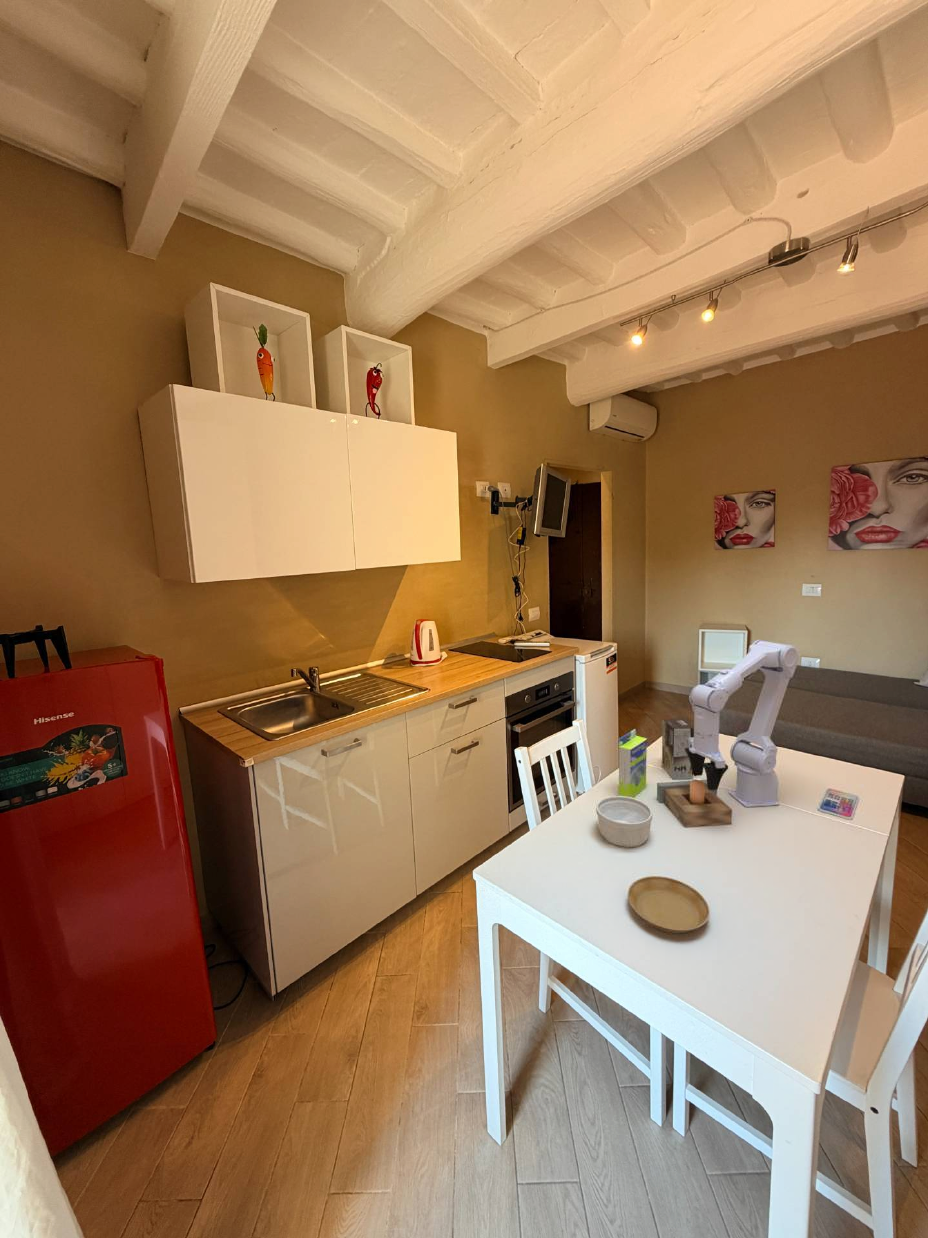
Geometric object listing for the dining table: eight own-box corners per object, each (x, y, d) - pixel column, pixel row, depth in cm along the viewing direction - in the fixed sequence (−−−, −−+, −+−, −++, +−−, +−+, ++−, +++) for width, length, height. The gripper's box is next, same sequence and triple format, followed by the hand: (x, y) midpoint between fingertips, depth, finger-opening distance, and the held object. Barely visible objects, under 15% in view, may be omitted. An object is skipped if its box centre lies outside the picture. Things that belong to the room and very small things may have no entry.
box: (630, 801, 137) (631, 742, 135) (617, 796, 140) (617, 739, 138) (647, 787, 144) (648, 731, 142) (634, 783, 147) (634, 728, 145)
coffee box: (694, 779, 148) (695, 728, 146) (672, 779, 148) (673, 728, 146) (681, 765, 157) (682, 717, 155) (661, 766, 157) (661, 718, 155)
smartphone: (860, 796, 134) (852, 819, 123) (859, 799, 134) (852, 822, 124) (827, 787, 139) (816, 808, 129) (826, 790, 139) (816, 812, 129)
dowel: (700, 808, 131) (701, 779, 130) (706, 815, 128) (707, 786, 127) (687, 808, 131) (687, 780, 130) (692, 815, 128) (693, 786, 127)
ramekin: (586, 837, 122) (586, 811, 121) (611, 814, 131) (611, 790, 130) (638, 858, 113) (638, 830, 112) (660, 832, 122) (661, 806, 121)
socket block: (706, 800, 136) (706, 786, 135) (731, 824, 124) (732, 809, 124) (663, 802, 136) (663, 789, 135) (684, 827, 124) (685, 812, 123)
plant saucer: (612, 909, 98) (612, 898, 97) (653, 877, 107) (653, 866, 106) (683, 956, 86) (684, 943, 86) (723, 916, 95) (723, 903, 95)
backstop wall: (712, 796, 138) (713, 779, 137) (716, 799, 136) (717, 782, 135) (656, 799, 138) (657, 782, 137) (660, 803, 136) (660, 786, 135)
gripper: (677, 722, 132) (676, 770, 135) (705, 744, 118) (704, 797, 120) (703, 721, 133) (702, 768, 135) (734, 742, 118) (732, 795, 120)
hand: (704, 782), depth 127 cm, fingers open, 7 cm apart
